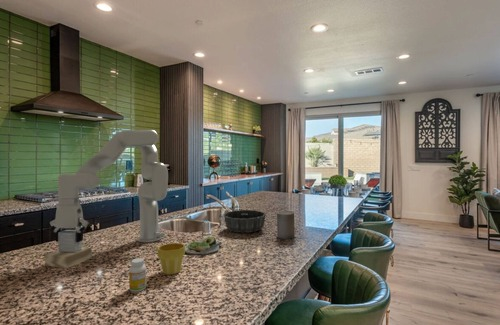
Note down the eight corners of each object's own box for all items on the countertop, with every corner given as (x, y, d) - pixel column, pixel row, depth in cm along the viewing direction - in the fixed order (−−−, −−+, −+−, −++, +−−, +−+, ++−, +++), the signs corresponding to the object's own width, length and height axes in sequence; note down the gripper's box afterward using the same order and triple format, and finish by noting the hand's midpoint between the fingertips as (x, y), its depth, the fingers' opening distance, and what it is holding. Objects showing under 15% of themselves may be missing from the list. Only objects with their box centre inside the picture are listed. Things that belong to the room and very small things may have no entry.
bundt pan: (251, 238, 154) (251, 220, 154) (214, 231, 168) (214, 215, 168) (273, 227, 177) (273, 212, 177) (239, 223, 191) (239, 208, 191)
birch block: (91, 259, 125) (91, 247, 125) (67, 269, 113) (67, 257, 113) (70, 256, 128) (70, 246, 128) (45, 266, 117) (45, 254, 117)
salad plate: (220, 257, 125) (219, 247, 125) (180, 258, 125) (180, 248, 125) (223, 244, 144) (222, 235, 144) (188, 244, 144) (188, 236, 144)
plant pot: (163, 266, 114) (162, 242, 114) (188, 266, 114) (187, 242, 114) (153, 276, 104) (153, 250, 104) (181, 276, 104) (180, 250, 104)
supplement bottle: (132, 285, 97) (132, 257, 97) (148, 284, 98) (147, 257, 98) (127, 292, 92) (126, 263, 92) (143, 291, 92) (143, 262, 92)
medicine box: (82, 249, 123) (82, 230, 123) (74, 252, 118) (74, 232, 118) (66, 249, 124) (66, 229, 124) (58, 252, 119) (57, 232, 119)
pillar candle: (294, 234, 160) (293, 208, 160) (295, 239, 151) (294, 211, 151) (277, 234, 161) (276, 208, 161) (277, 239, 152) (276, 211, 152)
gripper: (93, 200, 124) (93, 239, 124) (57, 200, 125) (57, 238, 126) (81, 203, 116) (81, 244, 116) (43, 203, 118) (44, 243, 118)
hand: (69, 241), depth 121 cm, fingers open, 9 cm apart
